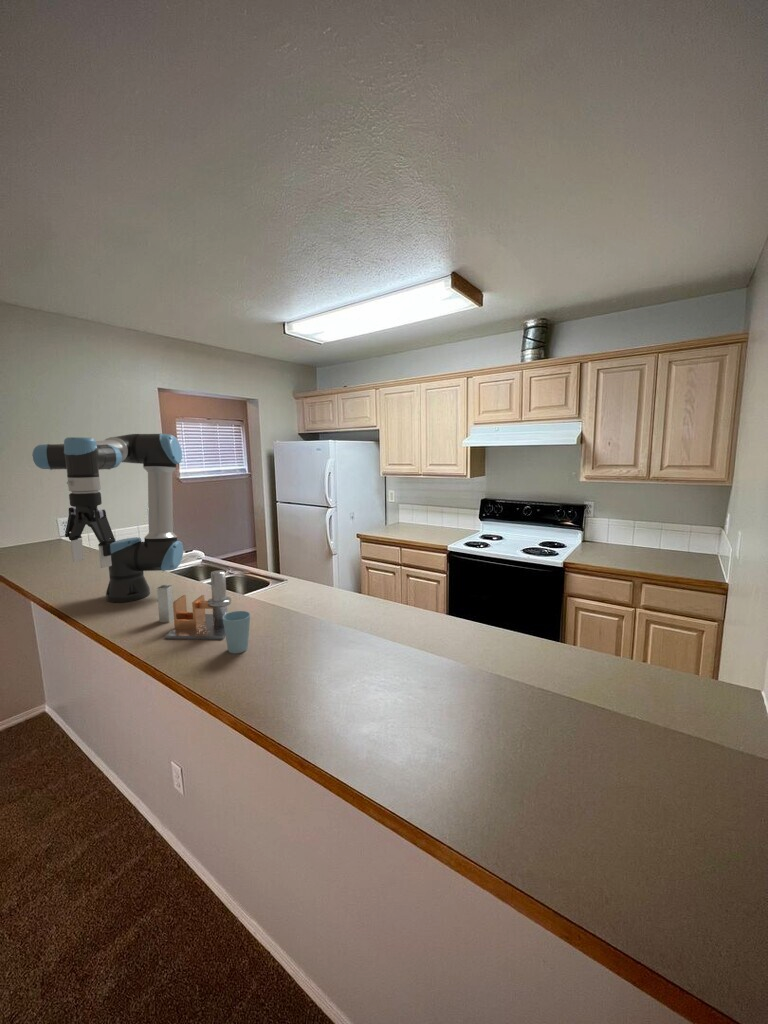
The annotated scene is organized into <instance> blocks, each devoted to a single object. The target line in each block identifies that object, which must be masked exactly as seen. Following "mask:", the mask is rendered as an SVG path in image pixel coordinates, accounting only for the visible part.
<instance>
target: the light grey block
mask: <svg viewBox="0 0 768 1024" xmlns="http://www.w3.org/2000/svg"><path fill="white" fill-rule="evenodd" d="M156 591H157V593H156V594H157V595H156V596H157V607H158V608H157V609H158V619H159V621H158V622H159V623H172V621H174V611H173V602H174V595H173V593H174V592H173V585H170V584H166V585H165V584H164V585H160V586H159V587H157V588H156Z"/></svg>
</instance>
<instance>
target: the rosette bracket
mask: <svg viewBox="0 0 768 1024" xmlns="http://www.w3.org/2000/svg"><path fill="white" fill-rule="evenodd" d="M226 577H227V576H226V571H225V570H223V569H221V570H219V569H218V570H214V571H211V572H210V581H211V582H210V585H211V587H210V589H211V598H210V599H208V600H205V595H204V594H201V595H200V596H199V597H198V598H196V599H195V600H194V601H192V602H191V605H192V612H191V611H188V609H187V595H186V594H183V595H182V596H180V597H178V598H177V599H176V600H173V611H174V619H173V623H174V628H172V630H170V631H169V632H168V633H167V634H165V635H164V639H165V640H224V639H226V635H225V629H224V624H223V618H222V617H223V616H224V615H225V614H227V613H228V606H229V605H231V604H232V598H231V597H229V596H227V582H226V581H227V580H226ZM207 609H209V610H210V609H211V610H212V613H206V610H207Z"/></svg>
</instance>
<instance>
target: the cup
mask: <svg viewBox="0 0 768 1024" xmlns="http://www.w3.org/2000/svg"><path fill="white" fill-rule="evenodd" d="M222 618H223V624H224V629H225V635H226V637H225V641H226V646H227V651H228V653H229V654H240V653H244V652H246V651H247V650H248V648H249V635H250V624H251V613H250V612H249V611H246V610H235V611H231V612H227V614H225V615H224V616H223V617H222Z"/></svg>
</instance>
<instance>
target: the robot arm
mask: <svg viewBox="0 0 768 1024" xmlns="http://www.w3.org/2000/svg"><path fill="white" fill-rule="evenodd" d="M182 458H183V451H182V447H181V444H180V442H179V440H178V439H177V437H176V436H174V434H173V435H172V434H170V433H169V434H168V433H129V434H124V435H117V436H111V437H107V438H105V439H104V440H96V439H95V438H93V437H78V436H77V437H73V436H72V437H70V436H69V437H66V438H64V440H63V443H59V444H58V443H57V444H50V443H47V444H39V445H38V444H37V445H36V446H35V447H34V448H33V450H32V461H33V463H34V464H35V466H36V467H38V468H40V469H42V470H50V471H52V470H66V476H67V482H66V485H67V487H68V491H69V492H70V493H69V494H68V499H69V506H70V507H68V517H67V523H66V527H65V532H64V537H65V538H68V540H69V541H70V546H71V548H70V549H71V556H72V562H73V563H77V562H82V561H84V560H85V558H84V557H85V555H84V546H83V545H84V544H83V536H82V534H83V532H84V529H85V527H86V525H87V526H88V527H89V528H90V529H91V530H92V532H93V534H94V535H95V537H96V539H97V540H98V542H99V543H98V554H99V566H100V568H101V569H104V568H108V574H109V581H108V584H107V588H106V591H105V600H106V601H107V602H109V603H127V602H134V601H138V600H141V599H144V598H147V597H149V596H150V594H151V590H150V586H149V584H148V582H147V580H146V578H145V574H144V572H153V571H155V572H158V571H162V572H167V571H174V570H176V569H177V568H178V567H179V566H180V564H181V562H182V560H183V556H184V546H183V542H182V541H180V540H178V535H176V533H174V519H173V518H174V515H173V514H174V513H173V511H174V508H173V506H174V505H173V498H174V497H173V473H174V472H175V471H176V470H177V465H179V464H181V463H182ZM121 463H129V464H139V465H140V464H142V467H143V469H144V471H146V472H147V497H148V499H147V500H148V502H147V505H148V509H147V510H148V512H147V513H148V533H147V534H146V535H145V536H144V537H143V539H144V541H142V538H141V537H137V536H136V537H135V536H134V537H127V538H122V539H118V540H116V538H115V535H114V533H113V530H112V528H111V526H110V522H109V520H108V517H107V512H106V510H105V509H98V507H99V506H100V505H102V503H103V502H102V494H101V492H100V491H101V481H100V472H99V470H100V471H101V470H112V469H115V468H118V467H119V466H120V464H121Z"/></svg>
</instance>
